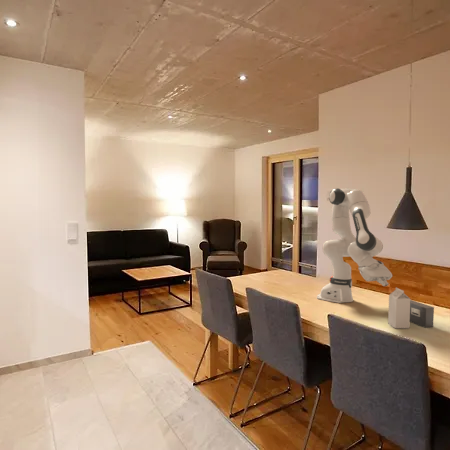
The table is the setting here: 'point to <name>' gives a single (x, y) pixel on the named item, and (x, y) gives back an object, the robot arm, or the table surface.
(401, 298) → the milk carton
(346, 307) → the table surface
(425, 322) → the grey rectangular box
